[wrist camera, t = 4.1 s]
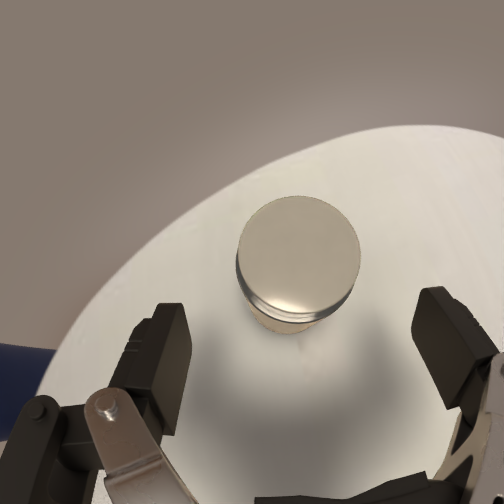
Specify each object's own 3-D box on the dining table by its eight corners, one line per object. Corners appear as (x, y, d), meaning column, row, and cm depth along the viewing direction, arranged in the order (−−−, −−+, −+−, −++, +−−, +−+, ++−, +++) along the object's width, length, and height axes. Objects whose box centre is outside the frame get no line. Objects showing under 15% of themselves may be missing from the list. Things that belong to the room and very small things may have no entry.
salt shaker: (242, 328, 17) (221, 311, 9) (253, 253, 18) (242, 183, 11) (321, 337, 17) (363, 326, 9) (328, 262, 18) (367, 199, 10)
